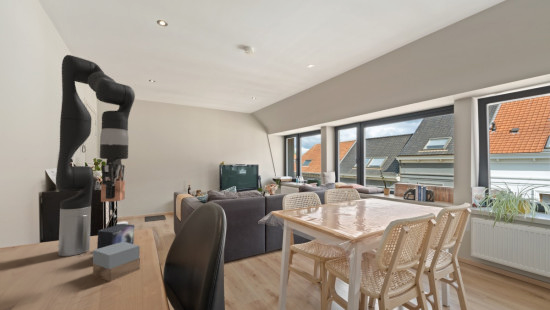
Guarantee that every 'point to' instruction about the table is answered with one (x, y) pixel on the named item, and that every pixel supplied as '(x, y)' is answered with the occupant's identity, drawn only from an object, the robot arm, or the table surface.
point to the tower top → (115, 255)
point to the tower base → (116, 270)
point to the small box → (115, 235)
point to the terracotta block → (118, 192)
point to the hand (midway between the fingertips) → (113, 197)
